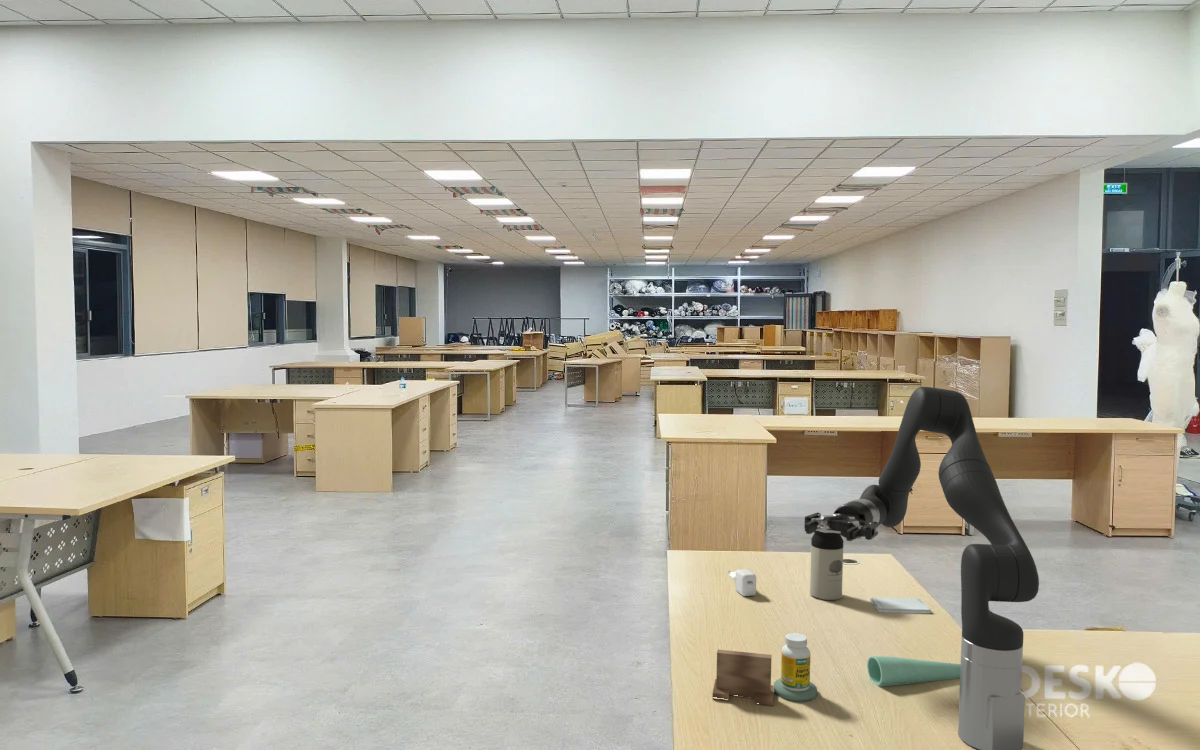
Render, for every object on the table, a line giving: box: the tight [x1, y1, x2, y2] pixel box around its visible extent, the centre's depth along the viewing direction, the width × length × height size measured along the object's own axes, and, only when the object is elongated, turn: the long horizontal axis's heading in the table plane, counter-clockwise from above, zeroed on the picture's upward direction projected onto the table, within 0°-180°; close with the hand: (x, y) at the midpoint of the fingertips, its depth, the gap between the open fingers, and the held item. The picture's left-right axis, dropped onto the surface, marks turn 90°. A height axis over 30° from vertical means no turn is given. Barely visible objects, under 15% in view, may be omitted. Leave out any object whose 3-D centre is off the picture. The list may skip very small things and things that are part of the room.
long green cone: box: [866, 655, 961, 688], centre depth 158 cm, size 5×6×27 cm
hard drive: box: [869, 596, 932, 614], centre depth 198 cm, size 2×8×12 cm
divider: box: [711, 649, 775, 707], centre depth 149 cm, size 11×6×8 cm, turn 77°
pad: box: [773, 678, 818, 703], centre depth 151 cm, size 8×8×1 cm
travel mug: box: [809, 525, 844, 601], centre depth 205 cm, size 8×8×18 cm
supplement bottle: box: [780, 632, 811, 692], centre depth 151 cm, size 5×5×10 cm
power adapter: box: [727, 568, 757, 597], centre depth 209 cm, size 11×5×6 cm, turn 13°
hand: (827, 532), depth 160 cm, fingers open, 8 cm apart
